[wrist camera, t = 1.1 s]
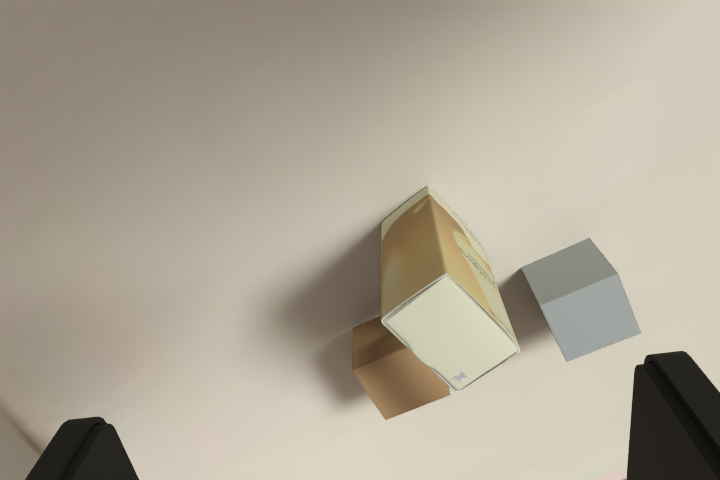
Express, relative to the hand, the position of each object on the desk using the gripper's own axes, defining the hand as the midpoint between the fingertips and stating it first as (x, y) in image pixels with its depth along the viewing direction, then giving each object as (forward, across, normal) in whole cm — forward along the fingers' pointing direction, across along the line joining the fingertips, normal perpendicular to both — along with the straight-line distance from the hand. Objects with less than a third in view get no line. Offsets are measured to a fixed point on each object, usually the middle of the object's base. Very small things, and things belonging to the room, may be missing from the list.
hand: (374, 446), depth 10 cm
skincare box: (+28, -3, +9) cm, 29 cm away
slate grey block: (+28, -12, +15) cm, 33 cm away
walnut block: (+28, +1, +18) cm, 33 cm away
